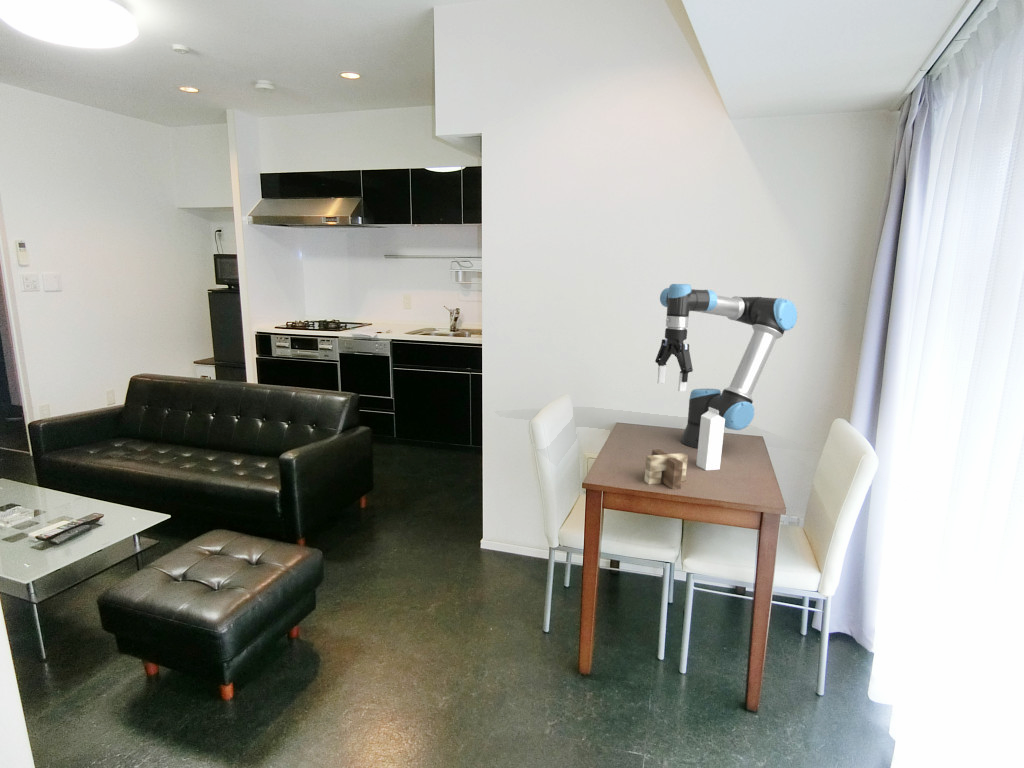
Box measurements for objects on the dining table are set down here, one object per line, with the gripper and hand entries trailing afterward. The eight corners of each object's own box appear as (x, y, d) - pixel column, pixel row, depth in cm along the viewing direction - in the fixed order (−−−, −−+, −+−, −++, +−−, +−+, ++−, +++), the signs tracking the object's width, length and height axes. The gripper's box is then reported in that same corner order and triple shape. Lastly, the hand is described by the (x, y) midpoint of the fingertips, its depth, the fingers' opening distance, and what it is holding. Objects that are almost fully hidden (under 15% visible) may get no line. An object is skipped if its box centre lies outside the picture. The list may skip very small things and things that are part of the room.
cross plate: (680, 478, 202) (682, 453, 200) (685, 481, 199) (687, 455, 197) (644, 481, 198) (646, 455, 196) (648, 484, 195) (651, 458, 193)
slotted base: (657, 473, 205) (659, 449, 204) (680, 488, 192) (682, 462, 191) (650, 474, 204) (652, 449, 203) (672, 489, 191) (674, 462, 190)
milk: (705, 470, 210) (711, 411, 206) (695, 465, 216) (701, 407, 211) (720, 469, 212) (726, 410, 207) (710, 463, 218) (715, 406, 213)
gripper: (648, 324, 218) (644, 380, 222) (687, 332, 195) (682, 394, 199) (666, 324, 220) (661, 379, 224) (707, 332, 197) (701, 393, 201)
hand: (671, 386), depth 212 cm, fingers open, 13 cm apart
